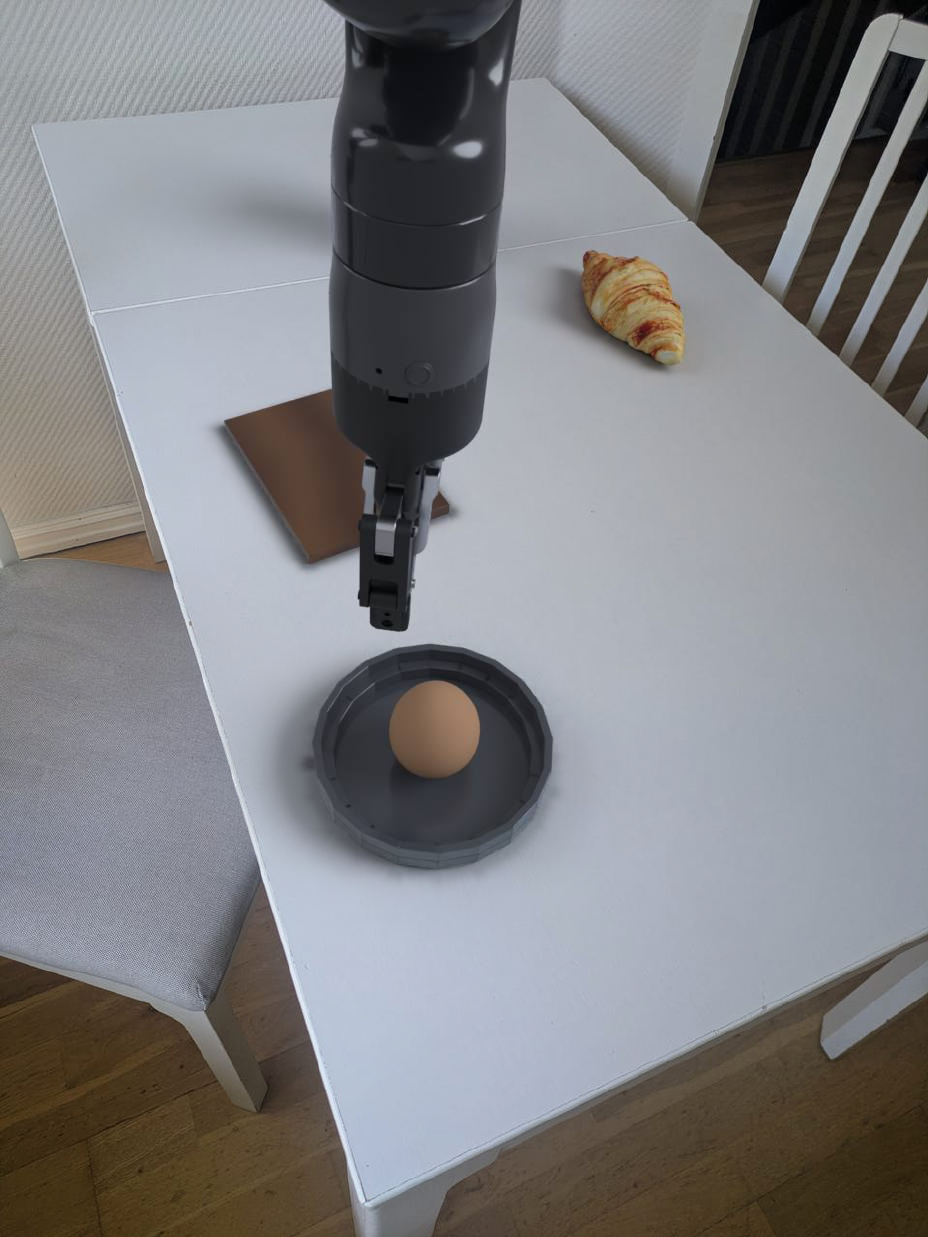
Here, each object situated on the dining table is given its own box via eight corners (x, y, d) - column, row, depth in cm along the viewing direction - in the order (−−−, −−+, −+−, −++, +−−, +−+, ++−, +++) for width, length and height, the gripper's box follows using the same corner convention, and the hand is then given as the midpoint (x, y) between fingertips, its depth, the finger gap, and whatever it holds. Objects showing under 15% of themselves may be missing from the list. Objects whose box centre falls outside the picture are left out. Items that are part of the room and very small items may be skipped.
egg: (414, 708, 70) (417, 644, 63) (490, 742, 68) (500, 680, 62) (373, 773, 66) (371, 712, 60) (452, 811, 65) (458, 753, 58)
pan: (382, 914, 60) (382, 897, 58) (279, 719, 69) (275, 698, 67) (591, 802, 66) (599, 783, 64) (472, 636, 75) (475, 614, 73)
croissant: (688, 393, 103) (734, 334, 99) (631, 375, 97) (677, 311, 92) (597, 290, 114) (635, 233, 110) (540, 268, 108) (578, 206, 103)
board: (309, 564, 79) (308, 555, 78) (225, 429, 89) (223, 420, 88) (449, 513, 84) (449, 504, 83) (353, 391, 94) (353, 381, 93)
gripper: (359, 249, 47) (361, 484, 59) (296, 422, 38) (314, 656, 50) (503, 269, 47) (474, 500, 59) (475, 446, 38) (448, 674, 50)
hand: (401, 571), depth 55 cm, fingers open, 8 cm apart
